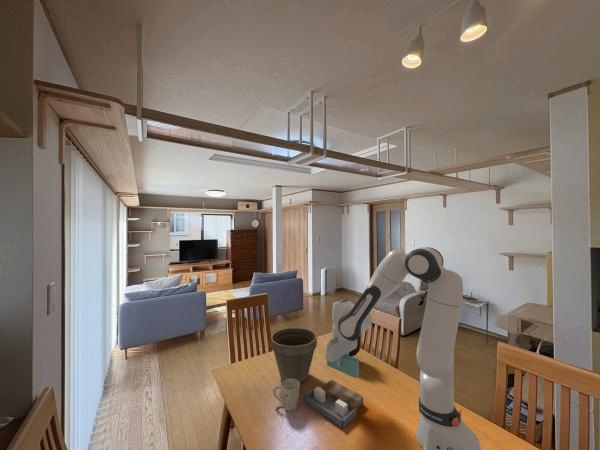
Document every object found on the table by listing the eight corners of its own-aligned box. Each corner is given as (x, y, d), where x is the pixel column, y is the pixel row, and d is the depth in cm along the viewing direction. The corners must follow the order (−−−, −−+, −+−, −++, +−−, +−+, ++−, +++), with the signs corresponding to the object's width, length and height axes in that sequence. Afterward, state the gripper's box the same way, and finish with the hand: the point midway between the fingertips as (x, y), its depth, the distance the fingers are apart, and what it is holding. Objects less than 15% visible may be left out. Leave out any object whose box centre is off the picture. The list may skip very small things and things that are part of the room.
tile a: (347, 404, 106) (344, 407, 104) (347, 415, 106) (344, 418, 104) (338, 399, 109) (335, 401, 107) (339, 409, 109) (335, 412, 107)
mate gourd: (332, 360, 150) (331, 327, 150) (347, 353, 159) (346, 321, 159) (353, 371, 138) (352, 335, 139) (368, 362, 147) (367, 328, 148)
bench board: (363, 404, 113) (363, 396, 113) (353, 413, 107) (353, 405, 107) (331, 386, 126) (331, 379, 126) (321, 394, 120) (321, 386, 120)
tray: (356, 416, 106) (356, 408, 106) (342, 429, 99) (342, 421, 99) (318, 392, 121) (318, 386, 121) (304, 402, 114) (304, 395, 114)
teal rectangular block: (359, 375, 113) (358, 359, 113) (355, 378, 110) (355, 362, 111) (330, 363, 124) (330, 348, 124) (327, 365, 122) (326, 351, 122)
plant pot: (295, 359, 153) (294, 323, 153) (327, 375, 135) (326, 335, 135) (261, 376, 135) (261, 336, 135) (293, 398, 117) (292, 351, 118)
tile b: (325, 390, 114) (321, 393, 113) (325, 400, 114) (321, 403, 113) (317, 386, 118) (314, 388, 116) (318, 396, 118) (314, 398, 116)
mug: (298, 414, 107) (297, 390, 107) (270, 410, 110) (269, 387, 110) (301, 401, 115) (301, 379, 115) (275, 397, 118) (275, 376, 118)
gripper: (333, 343, 108) (333, 375, 108) (359, 329, 122) (360, 358, 122) (322, 339, 112) (322, 370, 112) (348, 326, 127) (349, 353, 126)
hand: (342, 363), depth 117 cm, fingers closed on teal rectangular block, 3 cm apart
